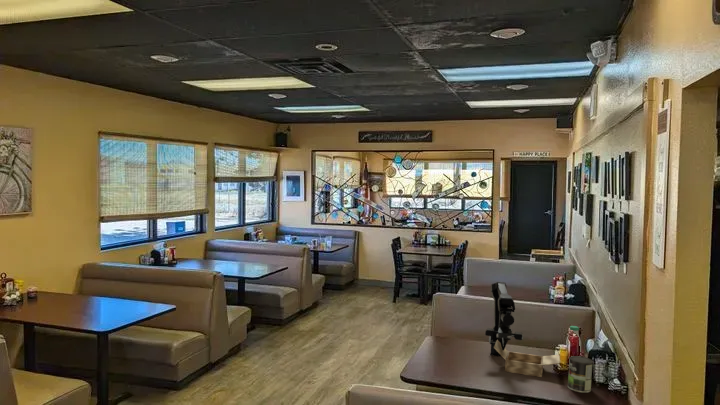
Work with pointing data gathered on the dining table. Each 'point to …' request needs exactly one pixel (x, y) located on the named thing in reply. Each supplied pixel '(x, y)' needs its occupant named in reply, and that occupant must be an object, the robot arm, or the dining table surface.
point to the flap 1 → (500, 349)
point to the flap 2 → (551, 360)
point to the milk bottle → (575, 330)
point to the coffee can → (580, 374)
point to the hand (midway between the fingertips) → (503, 350)
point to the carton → (524, 364)
